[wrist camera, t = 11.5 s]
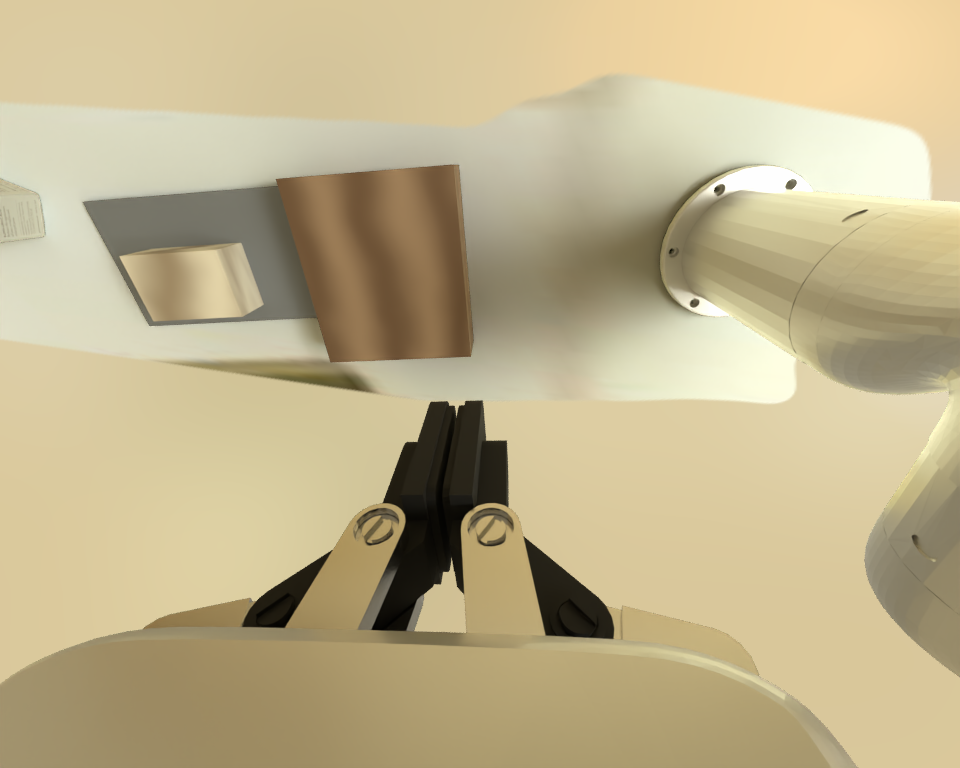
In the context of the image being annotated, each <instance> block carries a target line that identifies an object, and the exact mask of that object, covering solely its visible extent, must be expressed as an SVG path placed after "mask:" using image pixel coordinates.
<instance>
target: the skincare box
mask: <svg viewBox="0 0 960 768" xmlns="http://www.w3.org/2000/svg"><path fill="white" fill-rule="evenodd" d="M44 236H45V225H44V218H43V212H42V206H41V202H40V198H39V195H38V194H37V193H35V192H32V191H30V190H27V189H25V188H22V187H20V186H17V185H15V184H12V183H9V182H7V181H4V180H2V179H0V243H2V242H10V241H18V240H24V239H31V238H39V237H44Z"/></svg>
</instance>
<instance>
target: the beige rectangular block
mask: <svg viewBox="0 0 960 768" xmlns="http://www.w3.org/2000/svg"><path fill="white" fill-rule="evenodd" d="M119 257H120V259H121V261H122V263H123V265H124V267H125V269H126V270H127V272H128V274H129V276H130V278H131V280H132V282H133V284H134V286H135V287H136V289H137V291H138V293H139V295H140V297H141V299H142V301H143V303H144V304H145V306H146V308H147V310H148V312H149V314H150V316H151V318H152V320H153V321H171V320H190V319H209V318H228V317H243V316H245V315H247V314H248V313H250V312H252V311H254V310H255V309H257V308H259V307H261V306H262V305H264V304H263V301H262V298H261V295H260V293H259V290H258V287H257V284H256V282H255V279H254V276H253V274H252V271H251V268H250V265H249V263H248V260H247V257H246V254H245V252H244V249H243V246H242V243H228V244H214V245H199V246H184V247H170V248H155V249H149V250H144V251H140V252H136V253H132V254H127V255H123V256H119Z"/></svg>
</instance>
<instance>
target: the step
mask: <svg viewBox="0 0 960 768" xmlns="http://www.w3.org/2000/svg"><path fill="white" fill-rule="evenodd" d="M276 181H277V185H278V188H279V191H280V195H281V198H282V201H283V205H284V208H285V211H286V215H287V218H288V221H289V225H290V228H291V231H292V235H293V238H294V241H295V245H296V248H297V251H298V255H299V258H300V262H301V265H302V268H303V272H304V275H305V278H306V282H307V285H308V288H309V292H310V295H311V298H312V302H313V305H314V308H315V312H316V315H317V318H318V322H319V325H320V328H321V332H322V335H323V339H324V342H325V345H326V349H327V352H328V355H329V359H330V362H351V361H375V360H399V359H423V358H447V357H471V353H472V347H473V340H474V339H473V327H472V316H471V304H470V292H469V280H468V268H467V256H466V244H465V232H464V221H463V209H462V197H461V185H460V173H459V165H443V166H431V167H418V168H406V169H394V170H381V171H369V172H357V173H345V174H332V175H320V176H308V177H295V178H283V179H276Z"/></svg>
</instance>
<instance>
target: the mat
mask: <svg viewBox="0 0 960 768" xmlns="http://www.w3.org/2000/svg"><path fill="white" fill-rule="evenodd" d="M83 203H84V205H85V207H86V209H87V211H88V213H89V215H90V216H91V218H92V220H93V222H94V224H95V226H96V228H97V229H98V231H99V233H100V235H101V237H102V239H103V241H104V242H105V244H106V246H107V248H108V250H109V252H110V254H111V255H112V257H113V259H114V261H115V263H116V265H117V267H118V268H119V270H120V272H121V274H122V276H123V278H124V280H125V281H126V283H127V285H128V287H129V289H130V291H131V293H132V294H133V296H134V298H135V300H136V302H137V304H138V306H139V308H140V309H141V311H142V313H143V315H144V317H145V319H146V321H147V322H148V324H149V326H161V325H180V324H200V323H219V322H239V321H258V320H278V319H297V318H317V315H316V312H315V308H314V305H313V302H312V298H311V295H310V292H309V288H308V285H307V282H306V278H305V275H304V272H303V268H302V265H301V262H300V258H299V255H298V251H297V248H296V245H295V241H294V238H293V235H292V231H291V228H290V225H289V221H288V218H287V215H286V211H285V208H284V205H283V201H282V198H281V195H280V191H279V188H278V186H274V187H262V188H249V189H237V190H224V191H212V192H199V193H187V194H174V195H162V196H149V197H137V198H124V199H112V200H99V201H87V202H83ZM228 243H242V246H243V249H244V252H245V254H246V257H247V260H248V263H249V265H250V268H251V271H252V274H253V276H254V279H255V282H256V284H257V287H258V290H259V293H260V295H261V298H262V301H263V304H264V305H262V306H261V307H259V308H257V309H255V310H254V311H252V312H250V313H248V314H247V315H245V316H243V317H228V318H209V319H190V320H171V321H153V320H152V318H151V316H150V314H149V312H148V310H147V308H146V306H145V304H144V303H143V301H142V299H141V297H140V295H139V293H138V291H137V289H136V287H135V286H134V284H133V282H132V280H131V278H130V276H129V274H128V272H127V270H126V269H125V267H124V265H123V263H122V261H121V259H120V257H119V256H123V255H127V254H132V253H136V252H140V251H144V250H149V249H155V248H170V247H184V246H199V245H214V244H228Z"/></svg>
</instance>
